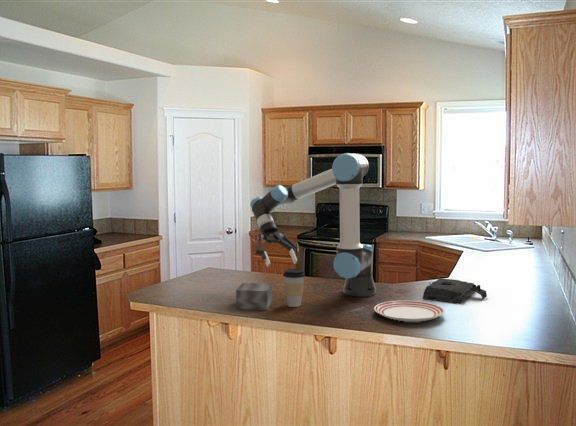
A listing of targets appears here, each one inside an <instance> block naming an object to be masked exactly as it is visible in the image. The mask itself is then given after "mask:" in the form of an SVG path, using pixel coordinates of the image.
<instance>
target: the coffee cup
mask: <svg viewBox="0 0 576 426" xmlns="http://www.w3.org/2000/svg"><path fill="white" fill-rule="evenodd" d="M282 276H283V278H284V290H285V296H286V304H287V306H288V307H290V308H300V307H301V304H302V297H303V289H304V278H305V276H306V274H305V272H304V270H303V269H301V268H300V269H299V268H288V269H285V270H284V272H283V274H282Z"/></svg>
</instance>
